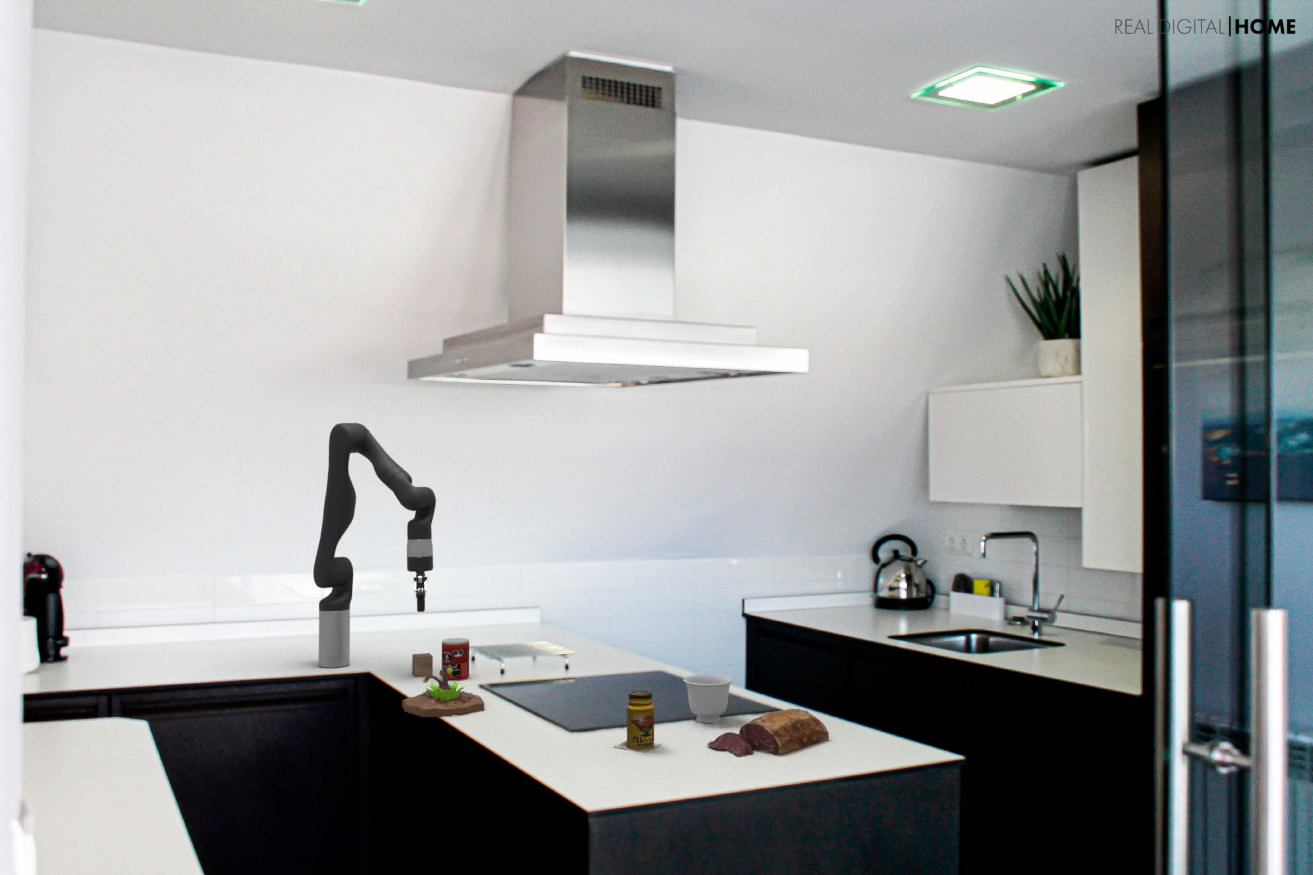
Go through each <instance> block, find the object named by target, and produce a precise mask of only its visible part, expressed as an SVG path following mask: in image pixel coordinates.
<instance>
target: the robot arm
mask: <svg viewBox="0 0 1313 875" xmlns="http://www.w3.org/2000/svg"><path fill="white" fill-rule="evenodd" d="M357 453H358V454H359V455H361V456H362V457H364V458H366V459H367V460H368V461H369V462H370V463H371V465H372V467H373V470H374V473H375V474H376V477H377V478H378V479H379V480H380V482H382V484H384V485H385V486H386V487H387V488H388V489H389V490H390V491H391V492H392V493H393V494H394V496H395V498H396V499H397V501H398V502H399V504H400V505H401V506H402V507H403V508H404V509H406V510H408V511H411V512H415V513H414V517H413V518H412V519H410V520H409V521H408V522H407V525H406V527H407V528H406V532H407V533H406V534H407V535H406V536H407V537H406V538H407V539H406V540H407V541H406V542H407V543H406V570H407V571H408V572H412V573H414V572H415V573H416V574H415V577H413V585H414V593H415V598H416V610H417V612H418V613H423V612H425V611H426V593H427V590H428V588H427V585H428V576H426V572H430V571H433V570H434V548H433V537H432V534H433V533H432V525H433V524H432V523H433V519H434V517H435V516H434V515H435V510H436V506H437V505H436V504H437V498H436V495H435V492H434V490H433V489H432V488H430V487H428V486H416V485H413V478H412V476H411V475H410V474H409V472H408V471H407V470H405V469H404V468H403V467H402V466H401V465H400V464H398V463H397V462H396V461H395V460H394V459H393V458H392V457H391V456H390V455H389V454H388V453H387V451H385V449H384V448H383V447H382V446H381V444H380V443H379V441H378V440H377V439H376V438H375V436H374V435H373V434H372V432H371V431H370V430H369V429H368V428H367V427H366V426H365V425H364V424H362V423H359V422H340V423H337V424H335V425H334V426H333V427H332V428H331V431H330V433H329V438H328V469H327V481H326V489H325V490H326V491H325V495H324V504H323V510H322V511H323V513H322V522H321V530H320V536H319V542H318V546H317V551H316V555H315V559H314V564H313V572H312V575H313V581H314V584H315V586H316V587H318V588H319V589H330V588H331V592H330V593H328V595H327V596H325V597H324V598H322V599H320V600H319V603H318V667H320V666H321V667H320V668H326V667H327V668H342V667H346V666H349V665H350V660H351V657H350V656H351V654H350V651H351V650H350V649H351V648H350V647H351V646H350V642H351V624H350V623H351V619H350V618H351V603H352V600H353V599H352V598H353V590H354V589H353V588H354V586H353V585H354V566H353V564H352V563H353V562H352V561H351V560H350V559H349V557H347V556H335V555H336V551H337V547H338V546H339V542H340V541H341V539H342V537H343V536H344V534H345V533H346V532H347V530H348V529H349V527H350V526H351V524H352V522H353V520H354V518H355V513H356V512H355V511H356V506H357V505H356V504H357V494H356V490H355V487H354V485H353V482H352V480H351V476H350V471H349V469H350V468H349V464H350V456H351V454H357ZM327 668H326V669H327Z"/></svg>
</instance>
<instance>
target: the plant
mask: <svg viewBox="0 0 1313 875" xmlns="http://www.w3.org/2000/svg"><path fill="white" fill-rule="evenodd" d="M438 672H439V677H441V678H442V677H443V678H442V679H439V678H438V677H437V676H435V675H433V676H427V677H423V679H422V682H423V683H424V684H425V683H426V684H427V683H428V682H429V680H430V679H434V680H435V681H436V682H437V684H436V683H432V682H431V683H430V685H429V688H431V689H429V688H428V687H425V689H426V691H425V690H424V691H423V692H422V693H420V694H418V695H415V696H410V697H407V698H405V699H402V702H401V708H403V711H404V712H405V713H408V714H411V715H414V716H417V717H422V718H431V717H432V718H444V717H443V716H449V717H453V716H452V715H458V716H466V715H465V714H467V715H470V714H472V713H477V712H483V711H484V712H485V702H484V700H483V699H482V697H481V696H480V695H477V694H474V693H471V692H466V691H464V690H463V689H464V688H465V685H463V686H461V687H459V688H458V686H459V683H458V682H456V681H455V682H454V681H453V682H451V683H449V680H448V679H447V673H448V674H451V673H452V669H451V667H449V666H447V667H446V669H445V672H444V671H443V670H442V669H440V670H439V671H438ZM457 688H458V689H457ZM469 713H470V714H469Z"/></svg>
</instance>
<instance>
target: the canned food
mask: <svg viewBox="0 0 1313 875" xmlns="http://www.w3.org/2000/svg"><path fill="white" fill-rule="evenodd" d="M447 666H449V667H451V669H452V673H451V674H448V673H447V679H448V681H450V680H456V681H464V680H467V679H469V676H470V639H468V638H462V637H459V638H458V637H453V638H452V637H451V638H445V639H443V640H441V670H443V671H444V672H445V669H446V667H447ZM441 679H443V677H441ZM463 679H464V680H463Z"/></svg>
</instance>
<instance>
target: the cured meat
mask: <svg viewBox="0 0 1313 875" xmlns="http://www.w3.org/2000/svg"><path fill="white" fill-rule="evenodd" d="M738 732H739V733H735V732H732V731H729V732H725V733H722V734H720V735H719V736H717V737H716V738H715V739H714V740H712V741H709V742H707V743H706V744H707V746H709V747H710V748H712V749H716V750H720V751H724V752H726V751H727V752H730V753H733V755H734V756H737V757H746V756H747V755H748V756H753V755H754V754H753V753H754V751H755V752H756V751H758V750H761V749H765V750H767V751H769V752H771V753H772V754H773V756H782V755H786V754H789V753H793V752H796V751H799V750H803V749H806V748H808V747H809V746H812V745H815V744H819V743H822V742H825V741H828V740H830V736H829V735H830V733H829V730H828V729H827V727H826V726H825V724H824V723H823V722H822V721H821V720H820V719H819V718H817V717H816V716H815V715H813V714H812V713H810V712H809V711H808V710H805V709H800V708H789V709H784V710H778V711H773V712H767V713H765V714H762V715H760V716H758V717H756V718H753V719H752V720H750V721H748V722H747V723H744V725H742V726H741V727H740V728H739V731H738Z"/></svg>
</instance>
